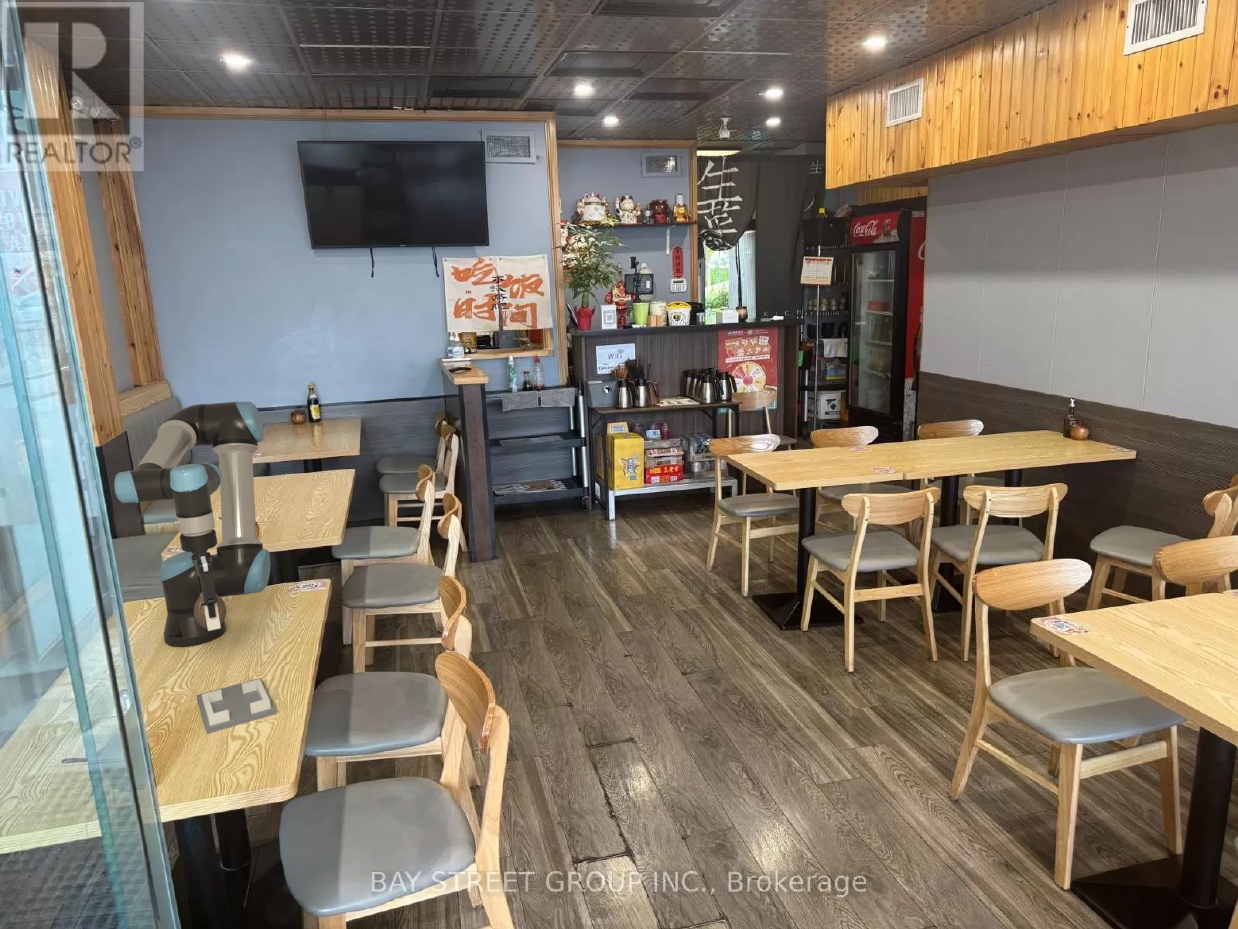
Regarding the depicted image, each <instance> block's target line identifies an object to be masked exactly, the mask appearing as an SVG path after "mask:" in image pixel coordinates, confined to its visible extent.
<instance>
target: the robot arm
mask: <svg viewBox="0 0 1238 929" xmlns="http://www.w3.org/2000/svg"><path fill="white" fill-rule="evenodd" d="M264 439H265V434H264V426H263V422H262V418H261V415H260V413H259V410H258V408H257V406H256V404H254V403H253V402H252V401H239V400H236V401H230V402H229V401H228V402H227V401H226V402H219V403H199V404H193V405H189V406H187V407H185V408H182V409H180V410H178V411H175V413H173V414H172V415H170V416H169V417H167V418H166V419H165V420H164V421H163V422H162V424H161V425H160V426H159V428H158V430H157V438H156V439H155V440H154V442H153V443H152V444H151V446H150V448H148V450H147V452H146V453H145V454H144V456H143V457H142V459H141V460H140V461H139V463H138V464H137V466H136V468H134V470H127V471H121V472H118V473H117V474H116V475H115V477H114V478H115V479H114V483H113V485H114V486H113V487H114V493H115V495H116V499H117V500H118V501H119V502H121V503H122V504H127V503H128V504H129V503H130V504H131V503H132V504H133V503H135V504H138V503H147V502H157V501H166V500H167V501H168V500H173V504H174V509H175V516H176V520H175V521H174V525H176V526H178V527H177V528H178V532H179V533H180V535H179V540H180V548H181V551H182V552H179V553H177V554H174V555H172V556H170V557H168V558H166V559H165V560H163V561H162V563H161V564H160V581H161V584H162V585H161V586H162V589H163V590H162V591H163V594H164V601H165V607H166V613H167V615H166V620H165V621H166V622H165V625H164V631H163V638H164V643H165V645H167V644H168V645H167V646H169V645H170V647H178V648H181V647H182V648H183V647H184V648H185V647H191V646H198V645H202V644H204V643H205V644H206V643H208V642H211V641H214V640H216V639H218V638H220V637H221V636H222V635H223V634H225V633H226V630H227V626H226V621H225V620H224V621H223V623H222V624H221V625H220V620H219V614H218V607H217V598H216V594H217V595H218V596H220V597H221V598H223V597H231V596H241V595H242V596H243V595H247V596H249V595H250V594H255V593H256V594H257V593H261V592H263V591H264V590H265V589H266V588H267V586H268V583H269V580H270V575H271V554H270V551H269V550H268V549H266V548H264V545H263V542H262V541H260V540H259V539H258V538H257V525H256V524H257V523H256V521H257V520H256V504H255V483H254V478H255V477H254V465H253V464H254V462H253V455H254V453H255V452H256V451H257V450H258V448H259V447H258V444H259V443H261V442H263V441H264ZM201 446H202V447H203V446H211V447H212V448H211V449H212V451H213V452H214V453H215V454H216V455H217V456H218V466H217V465H215V464H214V463H211V462H208V461H203V462H202V461H201V462H197V463H189V464H184V465H182V464H181V465H179V463H180V462H181V460H182V458H183V456H184V455H185V454H186V452H189V451H191V450H192V449H193V448H194V447H201ZM218 489H219V490H220V491H219V494H220V511H221V512H220V515H221V516H220V517H221V519H220V520H221V537H222V538H221V539H222V540H221V542H219V544H218V538H217V532H216V530H215V527H216V523H215V516H214V512H213V511H214V510H213V507H212V501H211V496H212V494H214V493H215V492H217V490H218ZM214 547H216V554H211V553H210V551H209V552H208V550H209V549H213V548H214ZM201 592H202V593H203V598H204V603H201V606H204V610H205V616H206V622H207V628H203V627H202V626H200V625H199V624H198V623H197V621H196V619H195V616H194V606H195V603H196V601H197V600H198V598H199V597H200V595H201Z"/></svg>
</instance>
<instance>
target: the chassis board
mask: <svg viewBox="0 0 1238 929" xmlns="http://www.w3.org/2000/svg"><path fill="white" fill-rule="evenodd" d="M196 701H197V704H198V707H199V711H200V715H201V718H202V722H203V725H204V729H205V731H206V734H207V735H208V734H211V733H214V732H217V731H221V730H226V729H228V728H229V729H230V728H232V727H235V726H238V725H243V724H245V723H249V722H253V721H256V720H259V719H264V718H265V717H269V716H274V715H277V709H276V706H275V705H274V703H273V701H272V699H271V697H270V695H269V692H268V690H267V688H266V686H265V684H264V682H263V679H262V677H259V678H255V679H251V680H248V681H247V680H246V681H244V682H241V683H236V684H233V685H229V686H226V687H221V688H219V689H214V690H210V691H207V692H203V693H200V694H196Z"/></svg>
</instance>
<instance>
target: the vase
mask: <svg viewBox="0 0 1238 929" xmlns="http://www.w3.org/2000/svg"><path fill="white" fill-rule="evenodd" d="M216 598H217V607H218V614H219V620H220V625H221V624H222V623H223V621H225V620H226V617H227V607H226V606H227V605H226V602H225V601H224V599H223V597H220V596H218V595H217V594H216ZM201 603H204V598H203V593H202V592H201V595H200V597H199V598H198V600H197V601H196V603H195V606H194V616H195V619H196V621H197V623H198V624H199V625H200V626H202V627H203V628H207V622H206V616H205V610H204V606H201Z"/></svg>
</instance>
